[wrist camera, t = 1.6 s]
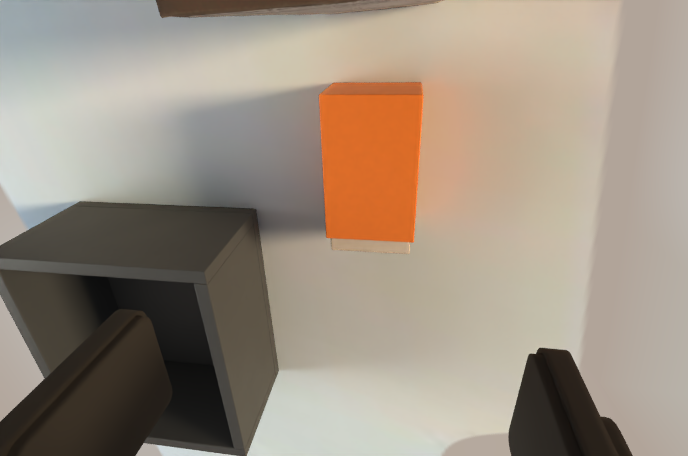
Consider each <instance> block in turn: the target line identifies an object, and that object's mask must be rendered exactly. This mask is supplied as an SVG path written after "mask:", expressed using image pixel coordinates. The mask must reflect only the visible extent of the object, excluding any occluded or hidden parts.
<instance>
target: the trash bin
mask: <svg viewBox="0 0 688 456" xmlns="http://www.w3.org/2000/svg"><path fill="white" fill-rule="evenodd" d="M0 295H1V297H2V299H3V301H4V303H5V305H6V307H7V309H8V310H9V312H10V314H11V316H12V318H13V320H14V321H15V324H16V326H17V327H18V329H19V331H20V333H21V335H22V337H23V338H24V341H25V342H26V344H27V346H28V348H29V350H30V352H31V354H32V356H33V358H34V359H35V361H36V363H37V365H38V367H39V369H40V371H41V373H42V374H43V376H44V378H46V377H47V376H48V375H49V374H50V373H51V372H53V371H54V370H55V369H56V368H57V367H58V366H59V365H60V364H61V363H62V362H63V361H64V360H65V359H66V358H67V357H68V356H69V355H70V354H71V353H72V352H73V351H74V350H75V349H76V348H77V347H79V346H80V345H81V344H82V343H83V342H84V341H85V340H86V339H87V338H88V337H89V336H90V335H91V334H92V333H93V332H94V331H95V330H96V329H97V328H98V327H99V326H100V325H101V324H102V323H103V322H105V321H106V320H107V319H108V318H109V317H110V316H111V315H112V314H113V313H114V312H115V311H117V310H119V309H128V310H138V311H143V312H144V313H145V314H146V316H147V317H148V318H150V320H151V322H152V325H153V328H154V332H155V335H156V338H157V341H158V344H159V348H160V351H161V354H162V357H163V360H164V364H165V367H166V370H167V373H168V376H169V380H170V383H171V386H172V398H171V400H170V402H169V404H168V406H167V407H166V409H165V410H164V412H163V414H162V415H161V417H160V418H159V420H158V421H157V423H156V424H155V426H154V428H153V429H152V431H151V432H150V434H149V435H148V437H147V438H146V440H145V441H144V443H148V444H156V445H163V446H170V447H178V448H185V449H192V450H200V451H207V452H214V453H222V454H229V455H236V456H247V453H248V451H249V448H250V445H251V443H252V440H253V437H254V435H255V432H256V429H257V427H258V424H259V421H260V419H261V416H262V413H263V411H264V408H265V405H266V403H267V400H268V397H269V395H270V392H271V390H272V387H273V384H274V382H275V379H276V377H277V374H278V371H279V370H278V363H277V356H276V349H275V341H274V334H273V327H272V320H271V313H270V306H269V299H268V292H267V285H266V278H265V271H264V264H263V257H262V250H261V242H260V235H259V228H258V221H257V214H256V209H246V208H222V207H199V206H175V205H152V204H128V203H104V202H78V203H76V204H75V205H73V206H71V207H69V208H67V209H66V210H64V211H62V212H60V213H58V214H56V215H55V216H53V217H51V218H49V219H47V220H46V221H44V222H42V223H40V224H38V225H37V226H35V227H33V228H31V229H29V230H28V231H26V232H24V233H22V234H20V235H19V236H17V237H15V238H13V239H11V240H9V241H8V242H6V243H4V244H2V245H1V246H0Z"/></svg>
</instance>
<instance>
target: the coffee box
mask: <svg viewBox="0 0 688 456" xmlns="http://www.w3.org/2000/svg"><path fill="white" fill-rule="evenodd" d="M440 1H443V0H156V2H157V5H158V9H159V12H160V16H161V17H162V18H164V17H171V16H173V17H216V16H251V15H283V14H288V15H302V14H335V13H345V12H355V11H367V10H378V9H387V8H397V7H406V6H415V5H423V4H432V3H438V2H440Z"/></svg>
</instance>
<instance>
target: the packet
mask: <svg viewBox="0 0 688 456" xmlns="http://www.w3.org/2000/svg"><path fill="white" fill-rule="evenodd" d="M319 107H320V126H321V145H322V164H323V183H324V202H325V221H326V237H327V238H331V247H332V250H347V251H365V252H383V253H401V254H409V249H410V242H412V243H413V242H414V231H415V216H416V200H417V185H418V170H419V155H420V140H421V124H422V109H423V90H422V84H421V82H405V83H333V84H331V85H330V86H329V87H328V88H327V89H325V90H324V91H323V92H322V93H321V94H319Z"/></svg>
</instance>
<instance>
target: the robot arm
mask: <svg viewBox="0 0 688 456" xmlns="http://www.w3.org/2000/svg"><path fill="white" fill-rule="evenodd" d="M171 398H172V386H171V383H170V380H169V376H168V373H167V370H166V367H165V364H164V360H163V357H162V354H161V351H160V348H159V344H158V341H157V338H156V335H155V332H154V328H153V325H152V322H151V320H150V318H148V317H147V316H146V314H145V313H144V312H143V311H138V310H128V309H119V310H117V311H115V312H114V313H113V314H112V315H111V316H110V317H109V318H108V319H107V320H106V321H105V322H103V323H102V324H101V325H100V326H99V327H98V328H97V329H96V330H95V331H94V332H93V333H92V334H91V335H90V336H89V337H88V338H87V339H86V340H85V341H84V342H83V343H82V344H81V345H80V346H79V347H77V348H76V349H75V350H74V351H73V352H72V353H71V354H70V355H69V356H68V357H67V358H66V359H65V360H64V361H63V362H62V363H61V364H60V365H59V366H58V367H57V368H56V369H55V370H54V371H53V372H51V373H50V374H49V375H48V376H47V377H46V378H45V379H44V380H43V381H42V382H41V383H40V384H39V385H38V386H37V387H36V388H35V389H34V390H33V391H32V392H31V393H30V394H29V395H28V396H27V397H26V398H25V399H24V400H22V401H21V402H20V403H19V404H18V405H17V406H16V407H15V408H14V409H13V410H12V411H11V412H10V413H9V414H8V415H7V416H6V417H5V418H4V419H3V420H2V421H1V422H0V456H135V455H136V454H137V452H138V451H139V449H140V448H141V446H142V445H143V443H144V441H145V440H146V438H147V437H148V435H149V434H150V432H151V431H152V429H153V428H154V426H155V424H156V423H157V421H158V420H159V418H160V417H161V415H162V414H163V412H164V410H165V409H166V407H167V406H168V404H169V402H170V400H171ZM509 447H510V452H511V456H632V454H631V452H630V450H629V448H628V446H627V444H626V442H625V440H624V438H623V436H622V434H621V432H620V430H619V428H618V427H617V425H616V424H615V423H614V422H613V421H612V420H611V419H610V418H606V417H600V415H599V413H598V411H597V409H596V407H595V404H594V402H593V400H592V398H591V396H590V394H589V392H588V389H587V387H586V385H585V383H584V381H583V379H582V377H581V375H580V372H579V370H578V368H577V366H576V364H575V362H574V360H573V358H572V356H571V354H570V352H569V351H567V350H558V349H548V348H539V349H538V350H537V353H536V354H529V356H528V359H527V363H526V366H525V370H524V374H523V378H522V382H521V386H520V390H519V394H518V397H517V401H516V405H515V409H514V413H513V417H512V421H511V425H510V428H509Z"/></svg>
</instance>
